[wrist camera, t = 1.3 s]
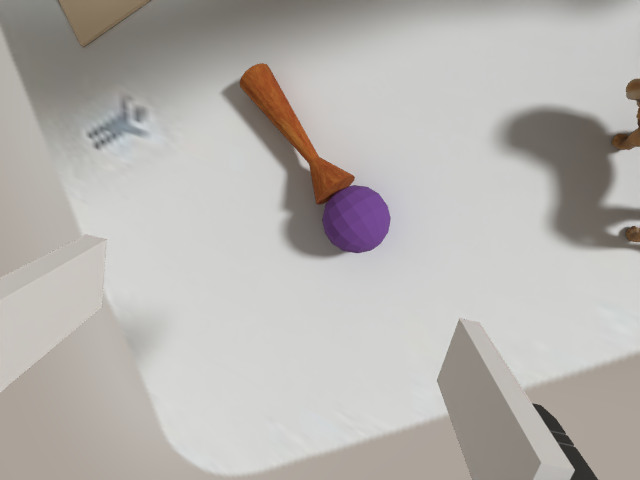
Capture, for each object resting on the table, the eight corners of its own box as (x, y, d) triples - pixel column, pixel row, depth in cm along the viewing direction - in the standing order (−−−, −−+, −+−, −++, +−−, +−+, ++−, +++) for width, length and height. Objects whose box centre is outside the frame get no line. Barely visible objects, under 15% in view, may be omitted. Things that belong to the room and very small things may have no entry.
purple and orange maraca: (275, 40, 38) (407, 221, 35) (285, 76, 44) (399, 233, 41) (219, 77, 38) (347, 262, 34) (237, 108, 44) (347, 268, 40)
